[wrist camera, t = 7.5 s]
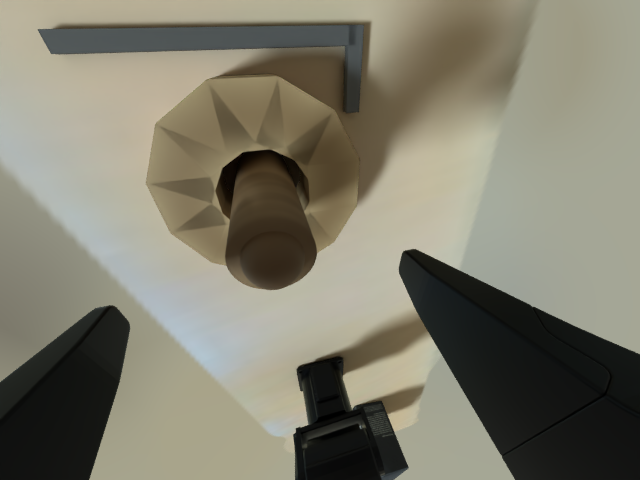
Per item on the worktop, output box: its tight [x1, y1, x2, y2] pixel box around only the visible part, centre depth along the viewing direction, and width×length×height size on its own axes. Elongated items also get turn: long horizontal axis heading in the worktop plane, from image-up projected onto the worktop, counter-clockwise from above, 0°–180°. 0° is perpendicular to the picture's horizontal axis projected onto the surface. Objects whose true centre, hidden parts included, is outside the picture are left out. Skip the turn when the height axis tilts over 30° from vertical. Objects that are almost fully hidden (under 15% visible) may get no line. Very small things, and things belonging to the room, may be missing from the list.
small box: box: [352, 401, 408, 480], centre depth 45 cm, size 11×6×10 cm, turn 167°
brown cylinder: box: [225, 149, 317, 290], centre depth 12 cm, size 3×3×10 cm
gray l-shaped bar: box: [38, 25, 364, 113], centre depth 13 cm, size 4×14×1 cm, turn 92°
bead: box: [146, 74, 360, 266], centre depth 15 cm, size 11×11×4 cm
